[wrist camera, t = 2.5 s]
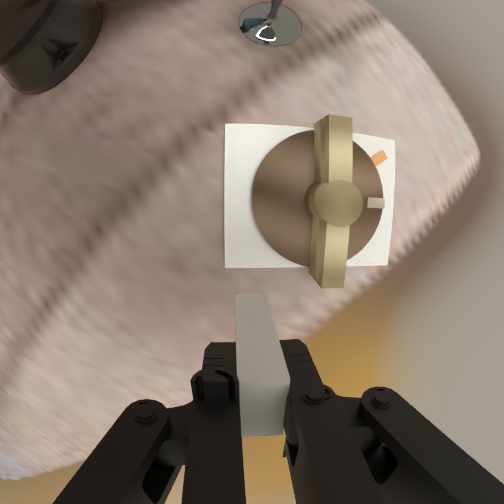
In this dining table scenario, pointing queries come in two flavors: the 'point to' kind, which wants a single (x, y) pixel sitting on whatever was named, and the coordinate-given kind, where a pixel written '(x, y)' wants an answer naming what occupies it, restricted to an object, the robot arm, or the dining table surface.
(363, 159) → the capstan dial
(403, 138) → the dining table surface
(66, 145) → the dining table surface
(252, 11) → the wine glass
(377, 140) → the base plate
